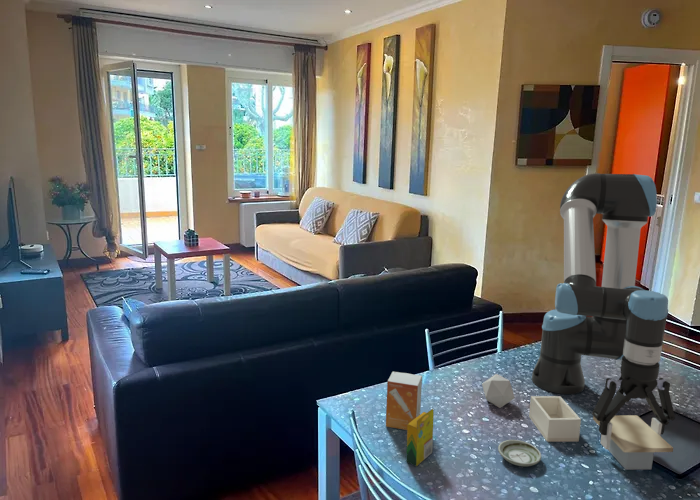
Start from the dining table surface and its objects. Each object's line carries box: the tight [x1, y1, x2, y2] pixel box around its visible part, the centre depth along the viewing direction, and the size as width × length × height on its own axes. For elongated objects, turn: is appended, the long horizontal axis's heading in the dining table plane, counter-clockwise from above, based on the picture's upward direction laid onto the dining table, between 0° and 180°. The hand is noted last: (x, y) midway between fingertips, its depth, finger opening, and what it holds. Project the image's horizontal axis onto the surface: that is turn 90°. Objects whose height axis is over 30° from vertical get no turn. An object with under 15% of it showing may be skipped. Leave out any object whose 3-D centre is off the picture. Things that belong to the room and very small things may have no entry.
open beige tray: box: [528, 395, 582, 443], centre depth 134 cm, size 8×12×6 cm, turn 2°
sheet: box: [592, 414, 674, 453], centre depth 121 cm, size 11×14×1 cm
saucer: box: [497, 439, 542, 467], centre depth 121 cm, size 10×10×2 cm
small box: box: [385, 371, 423, 431], centre depth 135 cm, size 8×6×13 cm
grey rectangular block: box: [608, 439, 655, 471], centre depth 122 cm, size 6×9×6 cm, turn 2°
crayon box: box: [406, 408, 434, 467], centre depth 120 cm, size 7×3×12 cm, turn 140°
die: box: [481, 373, 516, 409], centre depth 147 cm, size 8×9×10 cm
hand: (629, 446), depth 122 cm, fingers closed on sheet, 11 cm apart
